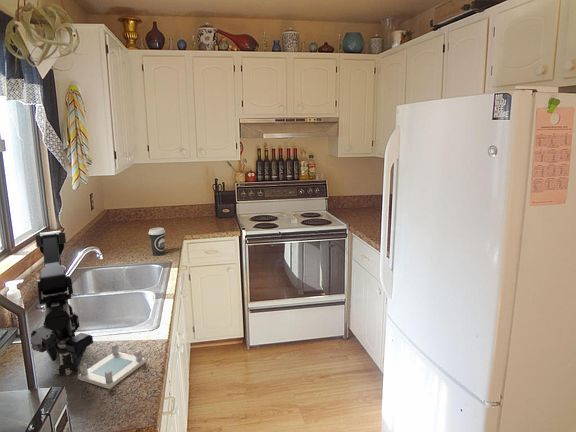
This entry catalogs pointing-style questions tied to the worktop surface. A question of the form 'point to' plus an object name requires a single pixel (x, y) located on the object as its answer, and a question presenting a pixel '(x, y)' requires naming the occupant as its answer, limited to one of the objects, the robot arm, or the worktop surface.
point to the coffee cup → (157, 241)
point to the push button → (64, 360)
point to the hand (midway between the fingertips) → (65, 363)
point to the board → (111, 368)
